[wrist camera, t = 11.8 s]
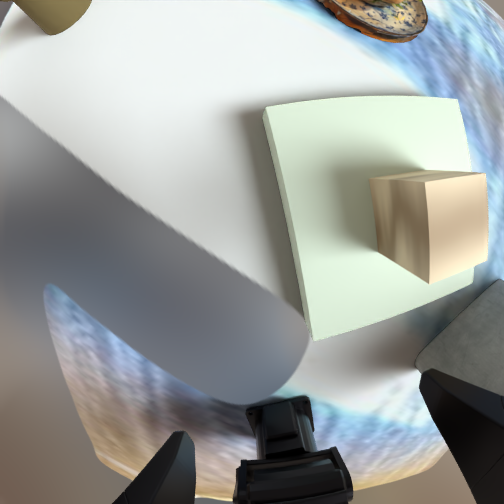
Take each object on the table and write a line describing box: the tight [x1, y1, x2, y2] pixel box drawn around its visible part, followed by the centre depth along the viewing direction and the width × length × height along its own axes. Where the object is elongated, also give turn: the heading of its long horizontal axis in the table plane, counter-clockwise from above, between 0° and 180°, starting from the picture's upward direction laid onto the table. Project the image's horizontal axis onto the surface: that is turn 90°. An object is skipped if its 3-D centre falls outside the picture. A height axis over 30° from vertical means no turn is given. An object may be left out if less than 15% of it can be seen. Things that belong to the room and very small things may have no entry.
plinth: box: [262, 96, 474, 342], centre depth 18 cm, size 16×16×3 cm
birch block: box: [369, 170, 488, 284], centre depth 13 cm, size 5×5×6 cm
